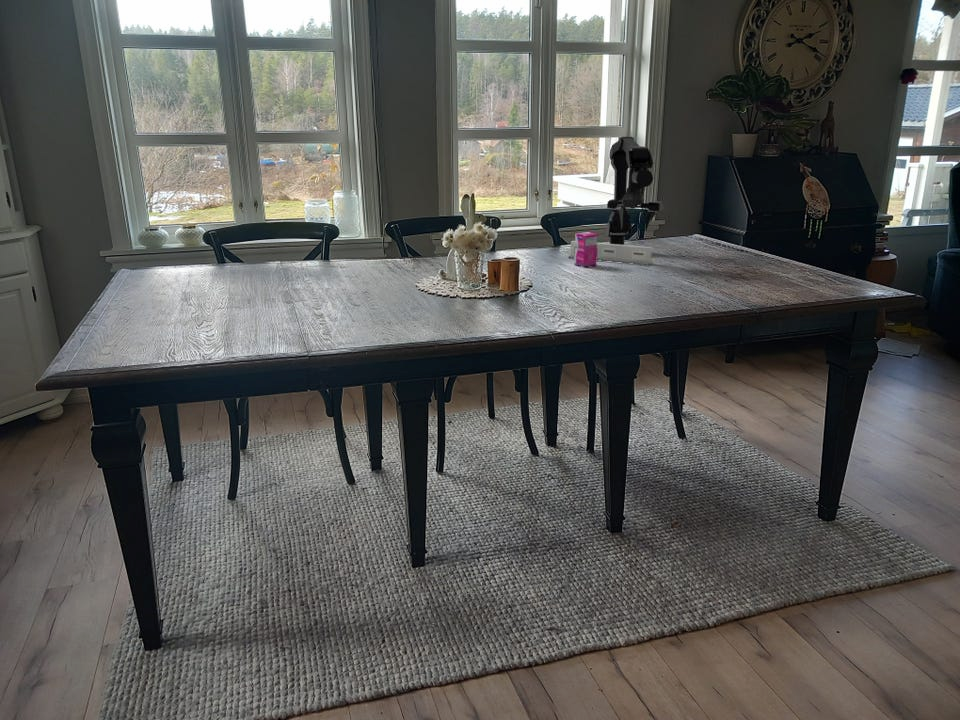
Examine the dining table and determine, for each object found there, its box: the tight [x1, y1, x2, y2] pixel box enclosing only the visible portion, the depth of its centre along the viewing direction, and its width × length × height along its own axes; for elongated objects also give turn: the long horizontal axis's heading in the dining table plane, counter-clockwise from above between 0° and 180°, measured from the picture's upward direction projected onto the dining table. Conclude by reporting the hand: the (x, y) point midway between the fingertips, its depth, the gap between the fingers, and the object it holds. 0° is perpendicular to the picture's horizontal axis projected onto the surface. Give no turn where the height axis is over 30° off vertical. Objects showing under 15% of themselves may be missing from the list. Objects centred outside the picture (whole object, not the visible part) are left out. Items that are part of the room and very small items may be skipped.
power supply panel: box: [568, 240, 653, 266], centre depth 264 cm, size 6×30×6 cm, turn 62°
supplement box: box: [573, 231, 598, 268], centre depth 255 cm, size 6×6×12 cm
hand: (633, 229), depth 256 cm, fingers open, 9 cm apart
